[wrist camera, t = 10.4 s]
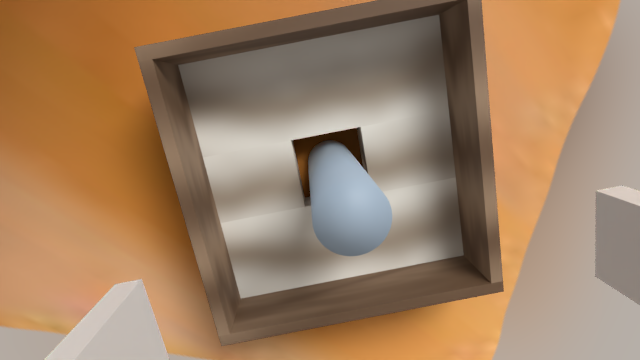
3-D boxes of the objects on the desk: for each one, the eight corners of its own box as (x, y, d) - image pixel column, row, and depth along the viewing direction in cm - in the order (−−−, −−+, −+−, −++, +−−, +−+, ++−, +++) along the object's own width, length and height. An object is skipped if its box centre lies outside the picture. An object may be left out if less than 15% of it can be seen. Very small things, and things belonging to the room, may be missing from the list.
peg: (303, 144, 30) (304, 188, 16) (347, 135, 30) (385, 172, 16) (312, 186, 30) (320, 263, 17) (355, 178, 30) (397, 248, 17)
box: (175, 58, 28) (134, 47, 21) (436, 8, 28) (479, -20, 21) (238, 292, 32) (221, 346, 26) (461, 249, 32) (503, 291, 26)
